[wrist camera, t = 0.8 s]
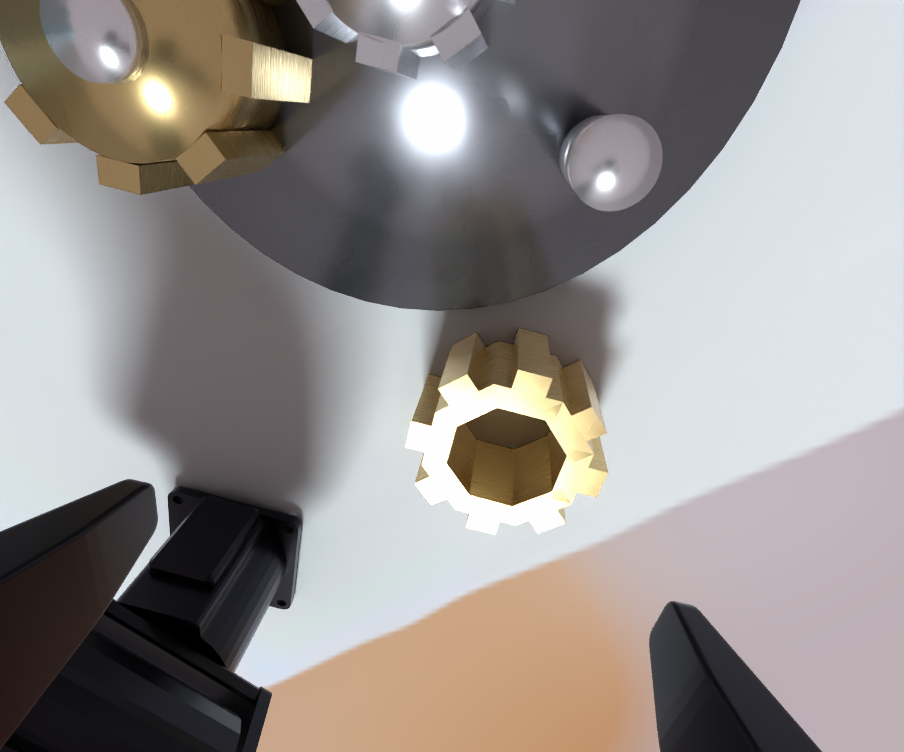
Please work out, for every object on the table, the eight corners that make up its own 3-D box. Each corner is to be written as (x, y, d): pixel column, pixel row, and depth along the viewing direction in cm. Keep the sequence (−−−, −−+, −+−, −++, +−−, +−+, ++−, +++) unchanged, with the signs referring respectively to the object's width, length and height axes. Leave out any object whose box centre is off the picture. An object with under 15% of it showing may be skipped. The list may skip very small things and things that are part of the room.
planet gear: (562, 492, 22) (569, 554, 18) (410, 452, 22) (392, 507, 19) (622, 354, 18) (642, 402, 15) (444, 308, 18) (428, 346, 15)
